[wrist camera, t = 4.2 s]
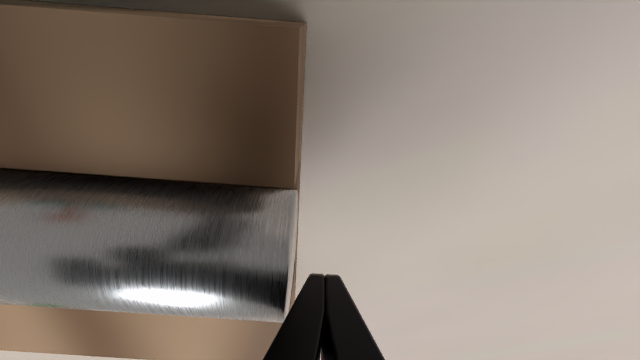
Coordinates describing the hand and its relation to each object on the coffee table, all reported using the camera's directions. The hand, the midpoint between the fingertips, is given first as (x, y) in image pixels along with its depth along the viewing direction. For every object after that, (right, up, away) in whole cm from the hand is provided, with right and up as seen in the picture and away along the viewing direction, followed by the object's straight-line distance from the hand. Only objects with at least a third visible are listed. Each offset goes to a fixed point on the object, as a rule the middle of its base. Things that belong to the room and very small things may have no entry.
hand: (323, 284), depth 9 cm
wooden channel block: (-8, +2, +3) cm, 9 cm away
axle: (-8, +1, +1) cm, 8 cm away
